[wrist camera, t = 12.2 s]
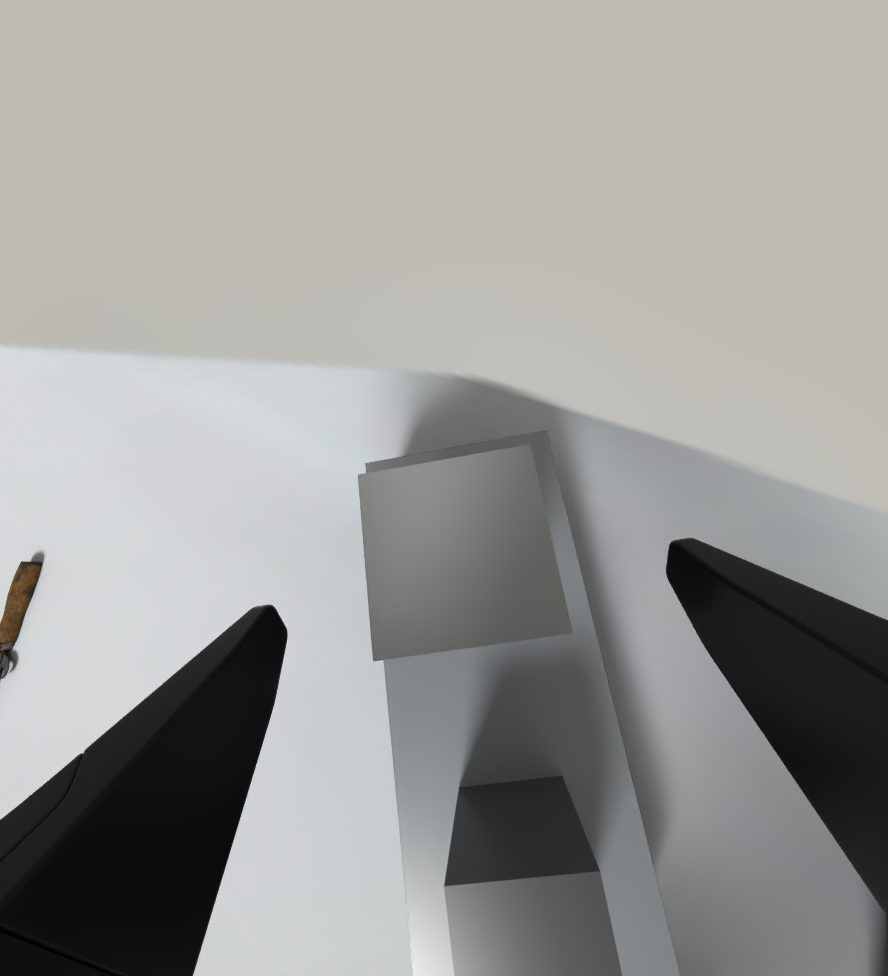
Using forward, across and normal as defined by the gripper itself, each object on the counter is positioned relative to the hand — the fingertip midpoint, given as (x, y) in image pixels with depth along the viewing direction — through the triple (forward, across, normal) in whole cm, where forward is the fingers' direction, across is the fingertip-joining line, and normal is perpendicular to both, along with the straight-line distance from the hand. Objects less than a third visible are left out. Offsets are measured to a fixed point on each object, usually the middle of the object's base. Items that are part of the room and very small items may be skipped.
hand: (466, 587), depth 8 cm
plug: (+9, 0, +8) cm, 12 cm away
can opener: (+11, +30, +8) cm, 33 cm away
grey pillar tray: (+6, 0, +12) cm, 14 cm away
